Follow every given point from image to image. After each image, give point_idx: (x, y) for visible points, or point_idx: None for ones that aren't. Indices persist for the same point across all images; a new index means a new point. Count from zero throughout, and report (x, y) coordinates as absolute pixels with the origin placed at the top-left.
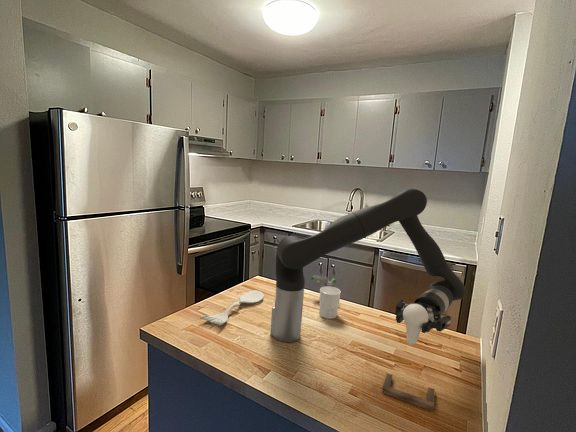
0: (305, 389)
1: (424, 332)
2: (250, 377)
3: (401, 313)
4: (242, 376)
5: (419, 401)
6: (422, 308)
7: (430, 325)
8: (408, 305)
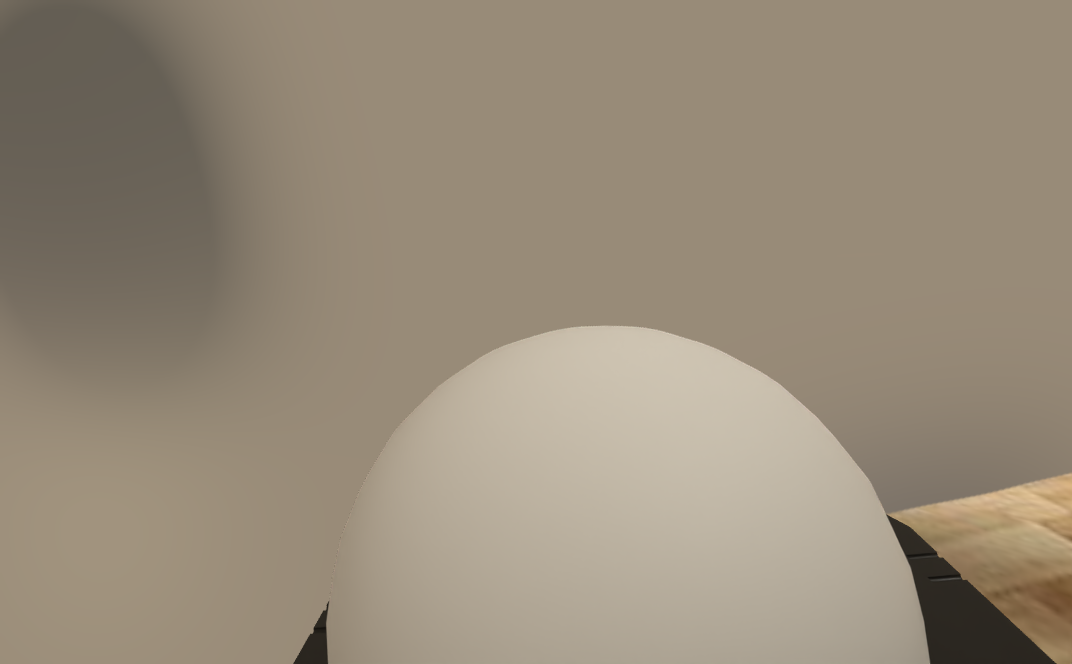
0: None
1: None
2: (1045, 499)
3: None
4: (1054, 487)
5: None
6: (448, 382)
7: (320, 623)
8: (751, 367)
